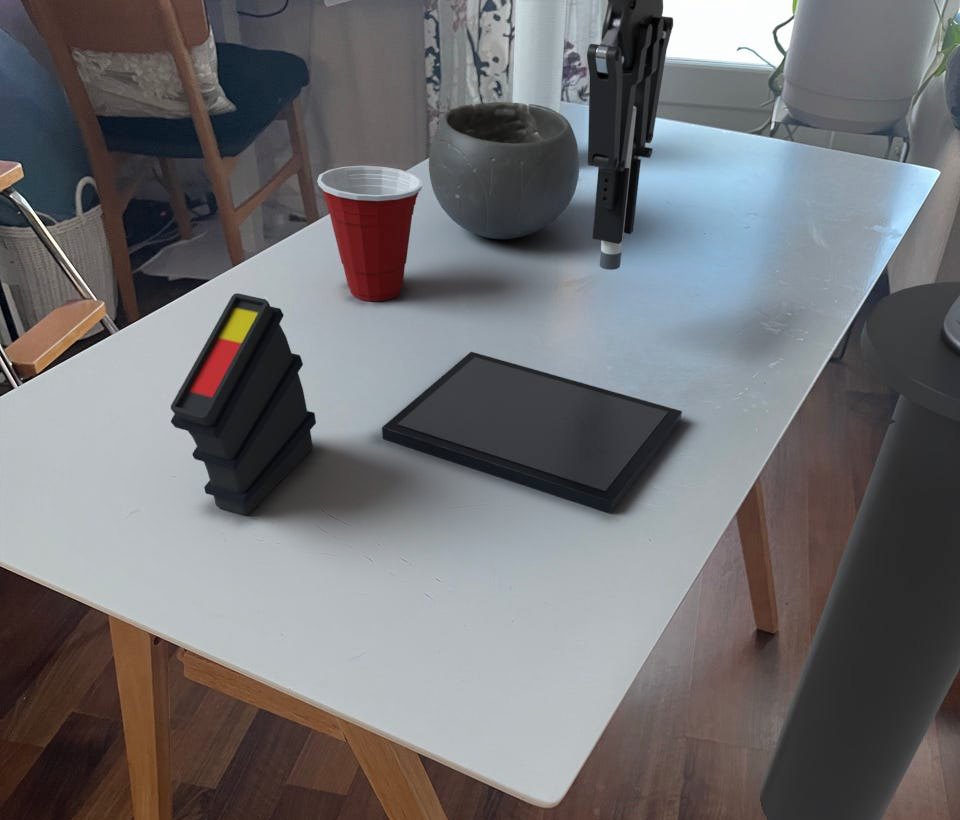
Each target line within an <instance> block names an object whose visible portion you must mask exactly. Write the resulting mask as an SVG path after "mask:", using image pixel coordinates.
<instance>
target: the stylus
mask: <svg viewBox="0 0 960 820" xmlns="http://www.w3.org/2000/svg"><path fill="white" fill-rule="evenodd" d="M636 109H637V108H636V107H635V106H633V113H632V121H631V128H630V136H629V143H628V151H627V158H626V166H625V168H630V167H631V157H632V148H633V138H634V128H635V119H636ZM629 176H630V170H629ZM628 186H629V179H628ZM627 195H628V189H627ZM626 205H627V198H626ZM625 215H626V208H625ZM624 224H625V217H624ZM623 235H625V233H624V227H623ZM623 243H624V236H623V237H622V242H621V243H620V244H616V243H612V242H607V241H602V240H601V245H600V254H599V255H600V257H599V267H600V268H602V269H604V270H609V271H614V270H617V269H620V267H621V260H622V250H623Z"/></svg>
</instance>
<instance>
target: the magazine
mask: <svg viewBox="0 0 960 820" xmlns="http://www.w3.org/2000/svg"><path fill="white" fill-rule="evenodd" d="M283 318H284V313H283V311H282V309H281V308H279V307H276V306H271V305H270V302H269V300H267V299H266V298H261V297H256V296H252V295H247V294H242V293H238V292H237V293H233V295H231V297H230V299H229V301H228V302H227V304H226V306H225V308H224V309H223V311H222V313H221V315H220V316H219V318H218V321H217V322H216V324H215V326H214V328H213V329H212V331H211V333H210V335H209V336H208V338H207V340H206V342H205V344H204V345H203V347H202V348H201V351H200V352H199V354H198V356H197V357H196V359H195V361H194V364H193V365H192V367H191V369H190V371H188V374H187V376H186V377H185V379H184V381H183V383H182V385H181V386H180V389H179V390H178V392H177V394H176V396H175V398H174V399H173V401H172V403H171V404H170V410H171V412H173V416H172V418H171V420H170V423H171V424H172V425H173V427H174V428H175V429H179V430H183V431H187V432H188V434H189V435H190V436H191V438H192V440H193V441H194V443H195V445H196V447H195V448H194V451H193V452H192V457H193V459H194V460H197V461H201V462H203V464H204V466H205V469H206V472H207V475H208V478H209V481H208V482H206V484H205V485H204V486H203V488H204V493H205V494H206V495H210V496H213V499H214V503H215V506H216V507H217V508H219V509H221V510H226V511H229V512H233V513H236V514H240V515H243V516H248V515H249V514H250V513H251V512H252V511H253V510H254V509H255V508H256V507H257V506H258V505H259V504H260V503H261V502H262V501H263V500H264V499H265V498H267V496H268V495H269V494H270V493H271V492H272V491H273V490H274V489H275V488H276V487H277V486H278V485H279V484H281V482H282V481H283V480H284V479H285V478H286V477H287V476H288V475H289V474H290V473H291V472H292V471H293V470H294V469H295V468H296V467H297V466H298V465H299V464H300V463H302V461H303V460H305V458H306V457H307V456H308V455H309V454H310V453H311V452H312V451H313V439H312V431H311V430H312V429H313V428H314V426H315V425H316V424H317V420H316V413H315V412H314V411H310V410H308V408H307V401H306V398H305V392H304V388H303V384H302V381H301V378H300V374H299V372H300V370H301V369H302V367H303V366H304V362H303V360H302V357H301V355H300V354H296V353H293V352H292V351H291V350H292V349H291V347H290V344H289V342H288V338H287V335H286V333H285V332H284V330H283V328H282V326H281V324H280V323H281V321H282V320H283Z"/></svg>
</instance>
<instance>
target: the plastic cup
mask: <svg viewBox="0 0 960 820" xmlns="http://www.w3.org/2000/svg"><path fill="white" fill-rule="evenodd" d="M423 182H424V181H423V179H422V178H420V177H419V176H418V175H417V174H415V173H412V172H409V171H406V170H403V169H399V168H393V167H387V166H376V165H352V166H341V167H337V168H332V169H328V170H325V171H323V172H322V173H320V174H319V175H318V178H317V185H318V187H320V189H321V192H322V194H323V197H324V201H325V203H326V207H327V211H328V213H329V217H330V221H331V224H332V229H333V233H334V237H335V242H336V245H337V250H338V254H339V257H340V258H339V259H340V263H341V264H342V266H343V270H344V275H345V279H346V283H347V286H348V287H347V288H349V291H350V293H351V295H352V296H353V297H354V298H356V299H359V300H362V301H366V302H383V301H389V300H391V299H394V298H396V297H398V296H399V295H400V294H401V293H402V288H403V287H404V279H405V278H404V277H405V269H406V264H407V259H408V251H409V242H410V234H411V227H412V218H413V215H414V211H415V205H416V202H417V198H418V197H419V196H418V195H419V194H420V192H421V191H422V188H423Z"/></svg>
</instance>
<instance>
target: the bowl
mask: <svg viewBox="0 0 960 820" xmlns="http://www.w3.org/2000/svg"><path fill="white" fill-rule="evenodd" d="M428 173H429V180H430V185H431V188H432V191H433V193H434V196H435V199H436V200H437V202H438V204H439V206H440V207H441V208H442V210H443V211H444V212H445V213H446V215H447V216H448V217H449V218H450V219H451V220H452V221H453V222H454V223H456V224H457V225H458V226H459V227H461V228H463V230H466V231H468V232H470V233H472V234H474V235H476V236H480V237H483V238H487V239H491V240H492V239H493V240H513V239H518V238H522V237H526V236H528V235H531V234H534V233H536V232H538V231H540V230H542V229H543V228H546V227H547V226H548V225H550V224H551V223H553V222H554V221H555V220H556V219H558V217H560V215H562V213H563V212H564V211H565V210H566V209H567V207H568V206H569V205H570V203H571V201H572V199H573V197H574V195H575V193H576V189H577V185H578V181H579V177H580V176H579V175H580V155H579V146H578V141H577V138H576V135H575V132H574V130H573V128H572V125H571V123H570V122H569V120H568V119H567V117H565V116H564V115H562V114H561V113H560V114H559V113H557V112H556V111H554V110H552V109H550V108H547V107H543V106H539V105H534V104H529V106H527V105H526V104H523V103H513V102H510V101H500V102H499V101H493V102H492V101H491V102H482V103H476V104H474V105H473V104H463V105H459V106H457V107H453V108H450V109H449V110H448V111H446V112H445V113H443V115H442V116H441V118H440V119H439V122H438V123H437V126H436V127H435V131H434V133H433V137H432V140H431V144H430V149H429V155H428Z"/></svg>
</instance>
